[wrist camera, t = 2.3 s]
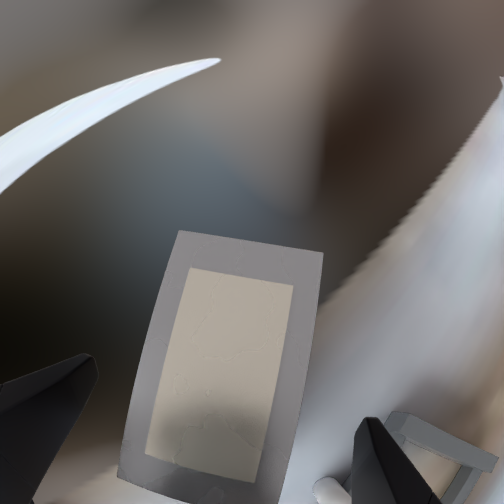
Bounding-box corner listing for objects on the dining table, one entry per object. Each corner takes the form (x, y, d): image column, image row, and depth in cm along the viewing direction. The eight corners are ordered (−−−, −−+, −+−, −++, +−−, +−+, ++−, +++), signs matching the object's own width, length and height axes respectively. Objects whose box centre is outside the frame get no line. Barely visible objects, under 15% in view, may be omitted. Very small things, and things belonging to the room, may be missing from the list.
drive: (268, 450, 14) (273, 521, 5) (193, 434, 15) (114, 477, 6) (292, 324, 18) (324, 251, 9) (221, 311, 18) (178, 228, 9)
